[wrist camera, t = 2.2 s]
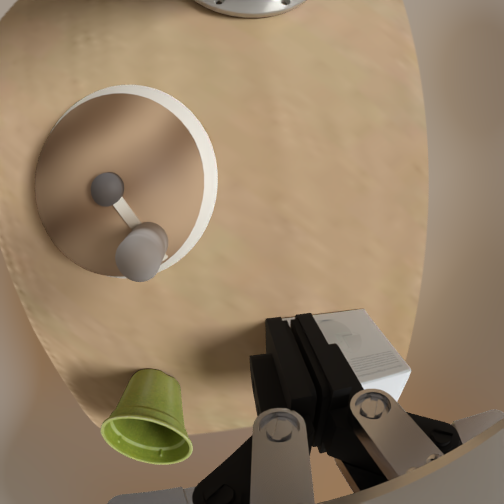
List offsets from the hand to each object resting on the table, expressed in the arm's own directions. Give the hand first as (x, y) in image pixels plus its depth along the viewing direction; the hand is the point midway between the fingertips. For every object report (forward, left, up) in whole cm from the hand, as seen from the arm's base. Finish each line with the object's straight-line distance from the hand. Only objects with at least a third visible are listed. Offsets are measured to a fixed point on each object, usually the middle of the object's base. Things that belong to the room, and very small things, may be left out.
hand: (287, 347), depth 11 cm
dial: (+1, -11, -14) cm, 18 cm away
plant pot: (+22, -1, -16) cm, 27 cm away
